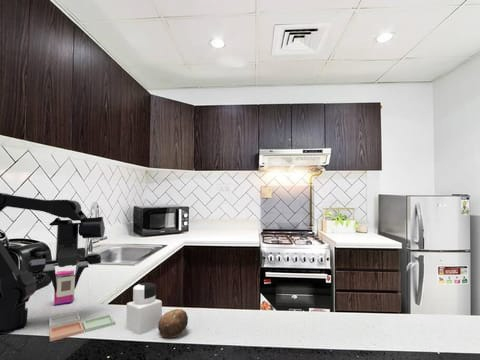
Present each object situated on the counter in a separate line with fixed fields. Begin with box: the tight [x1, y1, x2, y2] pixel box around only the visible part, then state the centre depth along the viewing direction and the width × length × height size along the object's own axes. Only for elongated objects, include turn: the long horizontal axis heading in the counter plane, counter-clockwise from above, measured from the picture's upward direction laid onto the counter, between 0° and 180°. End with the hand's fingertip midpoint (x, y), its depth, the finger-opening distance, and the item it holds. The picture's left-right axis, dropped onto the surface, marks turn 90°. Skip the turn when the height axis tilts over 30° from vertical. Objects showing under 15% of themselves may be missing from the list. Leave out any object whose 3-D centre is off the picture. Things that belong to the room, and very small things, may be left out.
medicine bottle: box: [125, 282, 163, 335], centre depth 76 cm, size 7×7×12 cm
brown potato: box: [157, 308, 189, 339], centre depth 71 cm, size 8×8×6 cm
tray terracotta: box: [49, 320, 85, 342], centre depth 73 cm, size 8×8×1 cm
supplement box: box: [53, 268, 75, 307], centre depth 101 cm, size 6×6×12 cm
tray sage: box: [81, 313, 116, 333], centre depth 78 cm, size 8×8×1 cm
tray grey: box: [48, 311, 81, 330], centre depth 81 cm, size 8×8×1 cm
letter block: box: [56, 273, 76, 297], centre depth 83 cm, size 4×5×6 cm
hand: (65, 290), depth 82 cm, fingers closed on letter block, 4 cm apart
